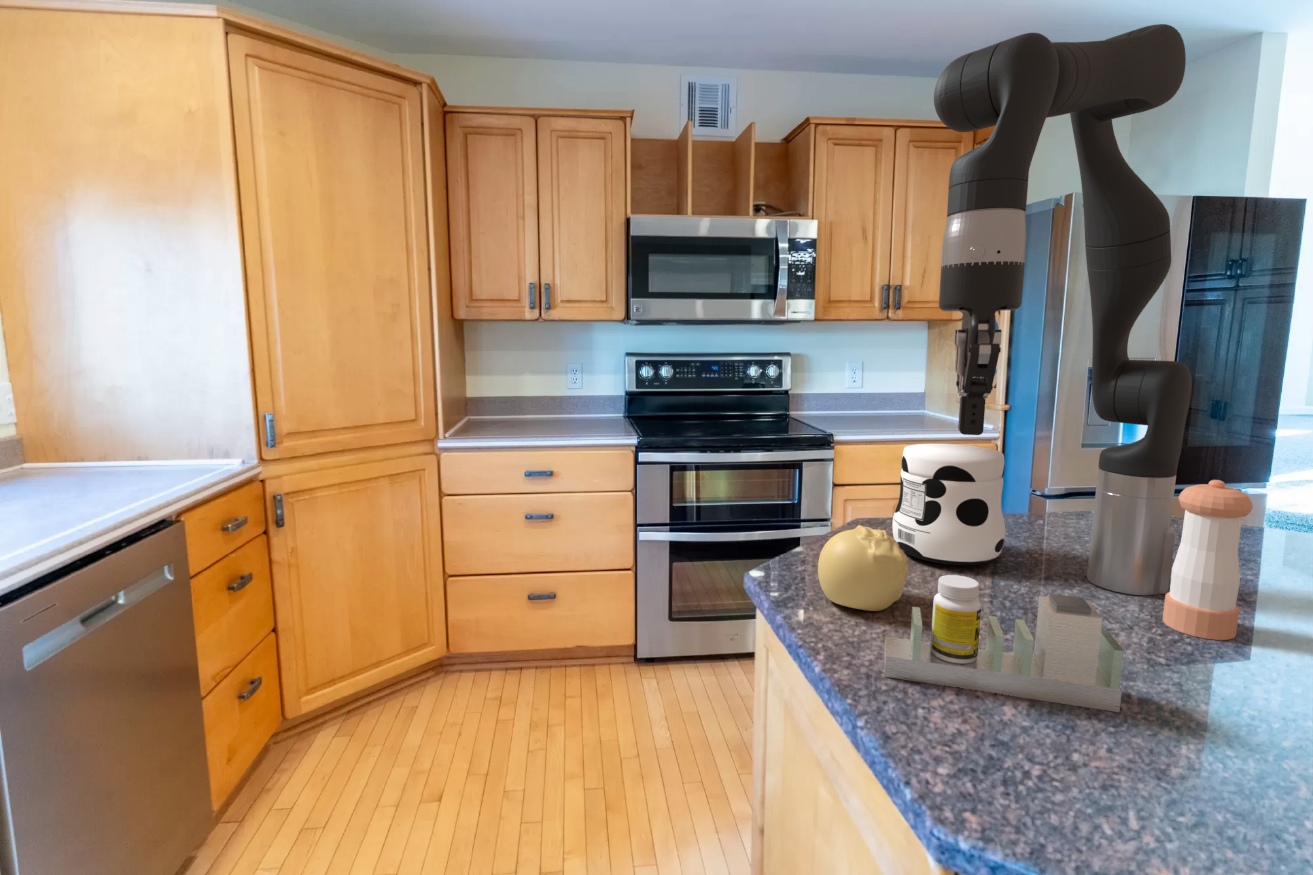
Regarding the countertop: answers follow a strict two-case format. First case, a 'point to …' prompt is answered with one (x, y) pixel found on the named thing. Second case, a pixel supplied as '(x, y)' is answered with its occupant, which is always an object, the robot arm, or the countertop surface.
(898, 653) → the desk organizer
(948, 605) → the supplement bottle
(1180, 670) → the countertop surface
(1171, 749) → the countertop surface
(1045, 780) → the countertop surface
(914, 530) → the milk container
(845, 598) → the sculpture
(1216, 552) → the salt shaker
